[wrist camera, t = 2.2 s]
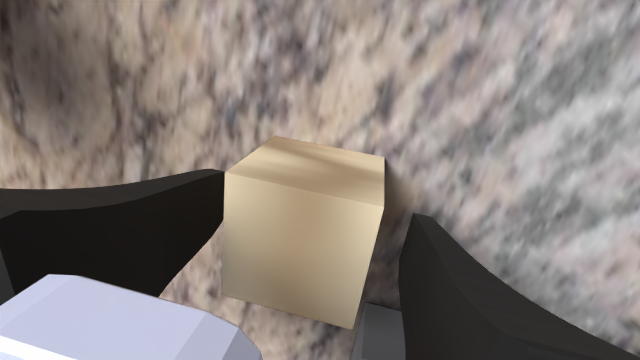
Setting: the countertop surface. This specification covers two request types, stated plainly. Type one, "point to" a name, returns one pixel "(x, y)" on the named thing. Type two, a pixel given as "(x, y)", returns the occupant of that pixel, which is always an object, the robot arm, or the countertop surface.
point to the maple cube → (302, 228)
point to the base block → (380, 335)
